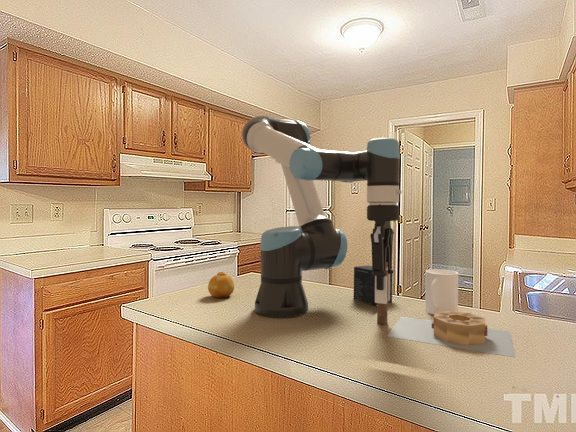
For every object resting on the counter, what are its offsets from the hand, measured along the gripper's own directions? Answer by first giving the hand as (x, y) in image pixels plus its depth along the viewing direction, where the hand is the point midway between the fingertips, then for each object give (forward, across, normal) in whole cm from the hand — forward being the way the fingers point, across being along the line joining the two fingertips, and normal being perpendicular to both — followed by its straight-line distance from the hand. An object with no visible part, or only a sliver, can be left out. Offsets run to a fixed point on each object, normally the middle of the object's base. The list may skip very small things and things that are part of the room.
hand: (382, 301), depth 90 cm
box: (+7, +23, +9) cm, 26 cm away
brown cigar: (+6, 0, 0) cm, 6 cm away
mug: (+7, +15, -11) cm, 20 cm away
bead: (+5, -1, -17) cm, 18 cm away
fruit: (+7, +7, +54) cm, 55 cm away
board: (+6, 0, -15) cm, 16 cm away
